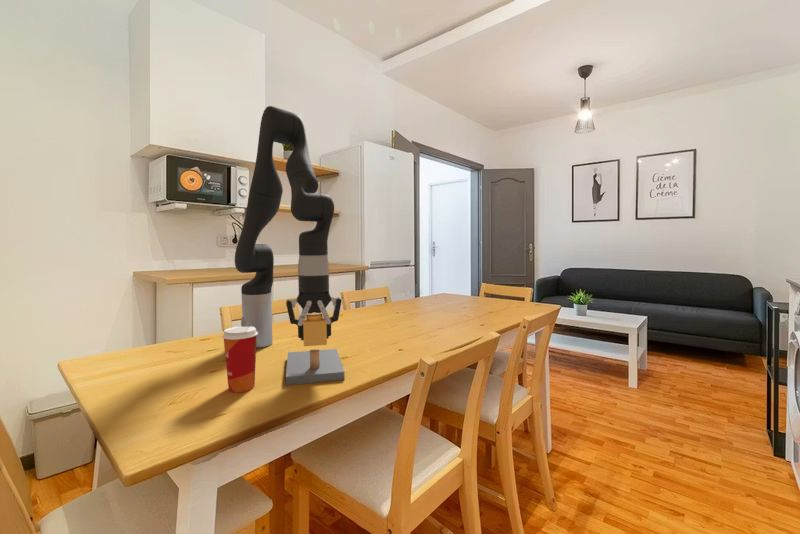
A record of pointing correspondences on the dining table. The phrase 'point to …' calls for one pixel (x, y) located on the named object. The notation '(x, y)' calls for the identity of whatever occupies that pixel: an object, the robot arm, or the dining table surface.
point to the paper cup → (240, 357)
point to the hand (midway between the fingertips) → (314, 338)
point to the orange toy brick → (315, 330)
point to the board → (313, 374)
